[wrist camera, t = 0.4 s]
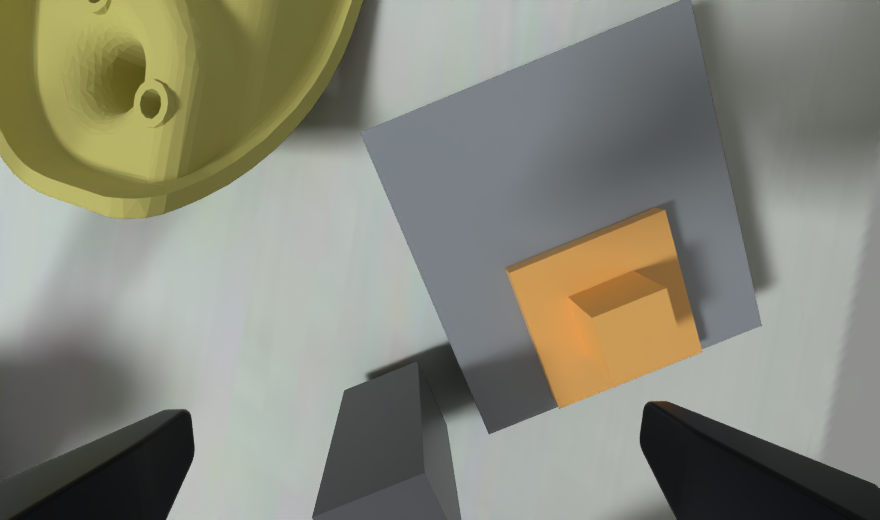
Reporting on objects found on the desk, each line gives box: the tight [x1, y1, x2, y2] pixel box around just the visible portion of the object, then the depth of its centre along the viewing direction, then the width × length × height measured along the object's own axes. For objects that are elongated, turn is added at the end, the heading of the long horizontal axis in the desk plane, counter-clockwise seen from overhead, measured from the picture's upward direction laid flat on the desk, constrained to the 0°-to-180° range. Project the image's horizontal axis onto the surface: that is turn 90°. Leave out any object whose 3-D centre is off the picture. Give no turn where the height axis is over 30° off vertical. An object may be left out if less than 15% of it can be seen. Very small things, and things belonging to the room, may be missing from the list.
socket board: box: [360, 0, 762, 434], centre depth 21 cm, size 15×14×3 cm
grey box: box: [312, 361, 461, 520], centre depth 19 cm, size 4×4×9 cm
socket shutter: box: [505, 208, 702, 409], centre depth 18 cm, size 7×7×3 cm
